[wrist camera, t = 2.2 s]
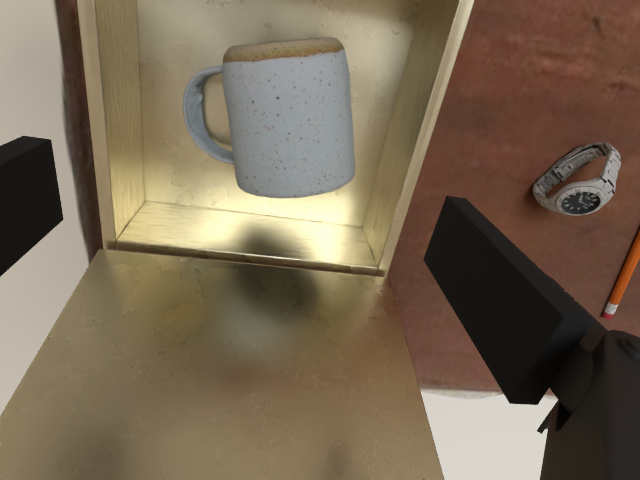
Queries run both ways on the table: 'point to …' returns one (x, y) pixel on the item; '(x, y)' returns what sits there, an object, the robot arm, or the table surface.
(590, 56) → the table surface
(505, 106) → the table surface
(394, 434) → the box lid
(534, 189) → the wristwatch
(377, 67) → the open metal box
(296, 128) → the ceramic mug
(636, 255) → the pencil
